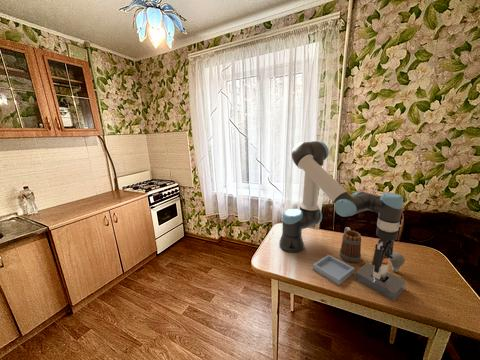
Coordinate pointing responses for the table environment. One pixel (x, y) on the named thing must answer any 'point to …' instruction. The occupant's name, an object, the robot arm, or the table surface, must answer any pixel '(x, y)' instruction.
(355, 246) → the mug
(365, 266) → the hitch block
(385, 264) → the pin
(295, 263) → the table surface
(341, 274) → the tray
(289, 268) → the table surface
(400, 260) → the light bulb
